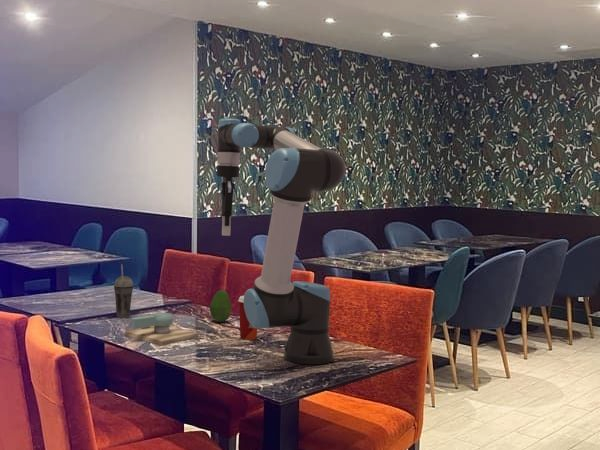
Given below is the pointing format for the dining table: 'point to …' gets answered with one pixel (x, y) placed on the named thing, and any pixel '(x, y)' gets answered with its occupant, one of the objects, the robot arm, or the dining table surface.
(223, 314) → the avocado
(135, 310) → the dining table surface
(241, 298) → the paper cup
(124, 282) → the beverage cup
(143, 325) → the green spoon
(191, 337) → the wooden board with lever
